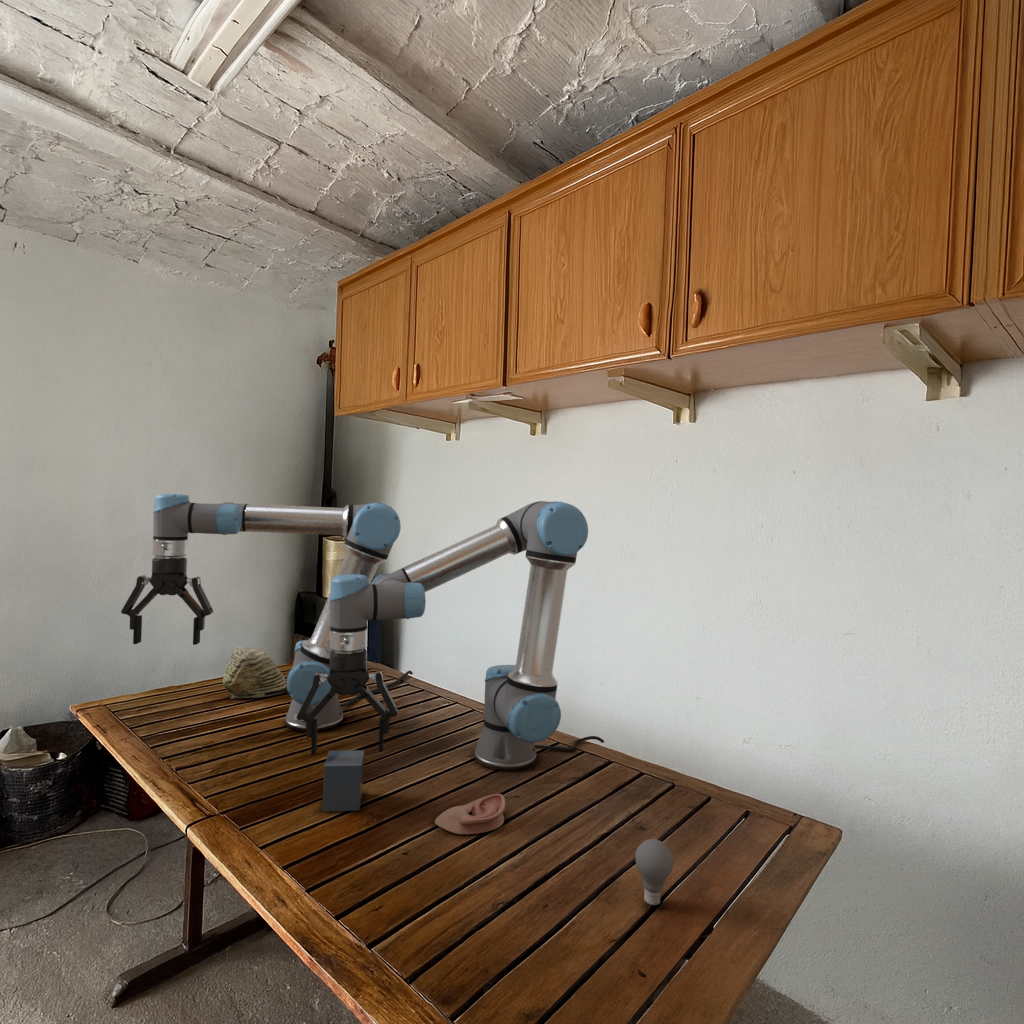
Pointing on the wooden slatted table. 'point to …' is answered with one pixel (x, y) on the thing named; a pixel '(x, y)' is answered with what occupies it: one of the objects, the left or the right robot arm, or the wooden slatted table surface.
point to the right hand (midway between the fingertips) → (347, 750)
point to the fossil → (252, 674)
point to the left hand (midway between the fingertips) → (166, 643)
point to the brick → (343, 781)
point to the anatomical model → (474, 816)
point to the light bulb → (653, 868)
